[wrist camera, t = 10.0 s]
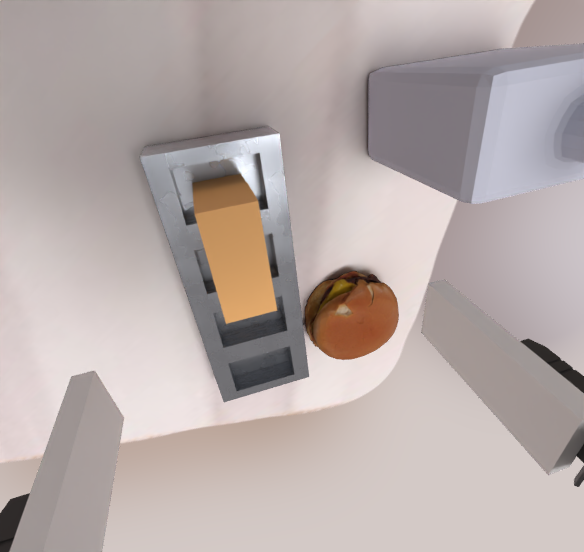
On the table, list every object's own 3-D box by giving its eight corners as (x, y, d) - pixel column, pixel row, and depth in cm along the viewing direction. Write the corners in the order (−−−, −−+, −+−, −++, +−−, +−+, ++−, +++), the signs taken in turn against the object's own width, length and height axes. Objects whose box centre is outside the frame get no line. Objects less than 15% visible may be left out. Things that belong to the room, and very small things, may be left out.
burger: (351, 348, 41) (368, 377, 37) (286, 328, 36) (299, 358, 33) (401, 283, 38) (426, 307, 34) (337, 252, 33) (357, 275, 29)
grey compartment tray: (144, 146, 24) (139, 157, 21) (268, 126, 26) (279, 133, 23) (220, 376, 37) (223, 402, 34) (299, 353, 39) (309, 376, 36)
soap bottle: (504, 47, 27) (1274, -4, 8) (488, 134, 31) (995, 242, 12) (365, 69, 25) (945, 69, 6) (365, 159, 29) (729, 339, 10)
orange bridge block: (191, 180, 25) (194, 213, 19) (240, 170, 25) (258, 200, 19) (217, 273, 29) (225, 323, 23) (258, 263, 29) (277, 310, 24)
